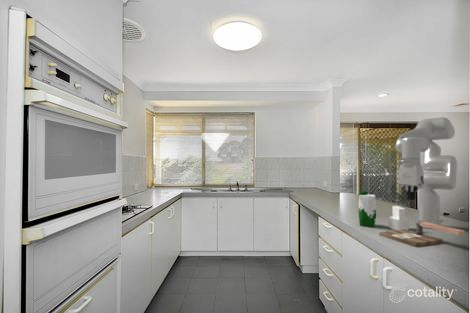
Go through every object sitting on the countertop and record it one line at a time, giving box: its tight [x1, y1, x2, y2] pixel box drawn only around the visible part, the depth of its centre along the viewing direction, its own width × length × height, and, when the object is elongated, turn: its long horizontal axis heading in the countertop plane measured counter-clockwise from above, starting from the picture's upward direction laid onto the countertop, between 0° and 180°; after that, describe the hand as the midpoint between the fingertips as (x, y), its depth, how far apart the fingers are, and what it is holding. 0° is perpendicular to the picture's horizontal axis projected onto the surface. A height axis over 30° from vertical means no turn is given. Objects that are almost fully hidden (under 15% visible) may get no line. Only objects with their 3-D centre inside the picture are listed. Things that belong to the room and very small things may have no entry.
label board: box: [378, 225, 444, 248], centre depth 120 cm, size 18×18×6 cm
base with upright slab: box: [388, 205, 410, 231], centre depth 138 cm, size 9×9×12 cm
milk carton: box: [358, 190, 377, 228], centre depth 145 cm, size 9×9×20 cm
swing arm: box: [415, 220, 466, 236], centre depth 115 cm, size 19×4×2 cm, turn 19°
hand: (411, 199), depth 121 cm, fingers closed
